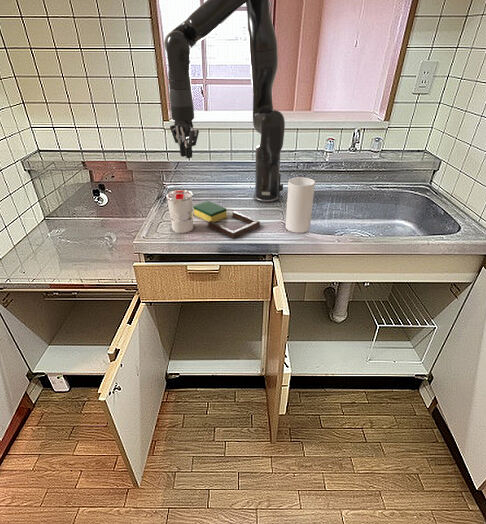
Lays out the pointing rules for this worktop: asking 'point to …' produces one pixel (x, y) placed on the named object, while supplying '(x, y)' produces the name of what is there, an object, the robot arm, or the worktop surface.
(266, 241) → the worktop surface
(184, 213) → the white canister
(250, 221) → the sponge rack
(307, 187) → the cup
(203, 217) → the sponge
